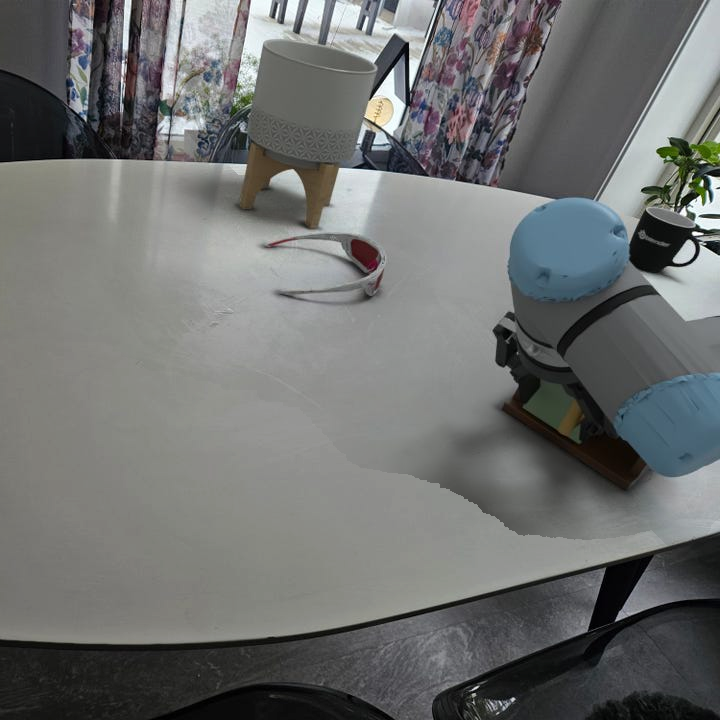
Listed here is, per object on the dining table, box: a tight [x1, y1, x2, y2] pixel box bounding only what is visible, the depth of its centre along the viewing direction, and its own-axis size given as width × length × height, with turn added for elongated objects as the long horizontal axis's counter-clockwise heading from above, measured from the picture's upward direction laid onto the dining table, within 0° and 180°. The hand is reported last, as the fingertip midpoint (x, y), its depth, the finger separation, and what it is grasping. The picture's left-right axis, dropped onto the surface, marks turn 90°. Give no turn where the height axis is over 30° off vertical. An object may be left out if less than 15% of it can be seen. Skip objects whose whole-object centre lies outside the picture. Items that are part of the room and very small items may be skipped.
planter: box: [238, 38, 379, 230], centre depth 119 cm, size 19×19×26 cm
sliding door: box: [523, 379, 585, 444], centre depth 78 cm, size 8×6×10 cm
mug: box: [629, 206, 701, 273], centre depth 132 cm, size 12×9×10 cm
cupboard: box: [501, 385, 651, 491], centre depth 80 cm, size 16×10×13 cm, turn 41°
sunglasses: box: [264, 231, 387, 297], centre depth 106 cm, size 17×17×5 cm
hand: (559, 412), depth 79 cm, fingers open, 7 cm apart
